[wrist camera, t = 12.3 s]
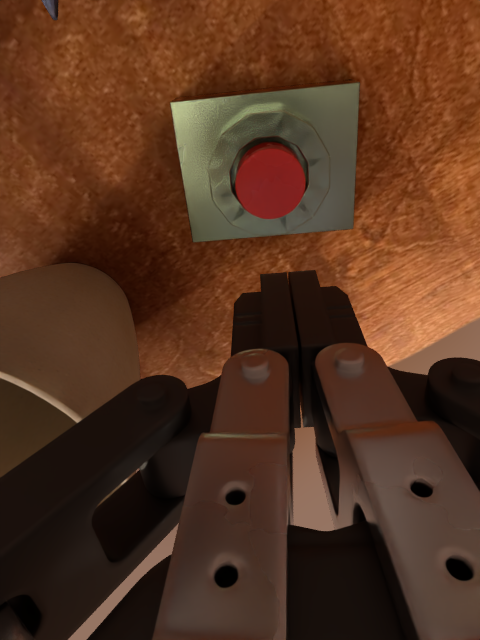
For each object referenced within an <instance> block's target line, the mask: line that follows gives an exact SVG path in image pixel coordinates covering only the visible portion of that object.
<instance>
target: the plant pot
mask: <svg viewBox="0 0 480 640" xmlns="http://www.w3.org/2000/svg"><path fill="white" fill-rule="evenodd" d="M139 380H140V365H139V353H138V345H137V338H136V332H135V326H134V322H133V317H132V313H131V309H130V306H129V303H128V300H127V297H126V295H125V294H124V292H123V290H122V289H121V288H120V286H119V285H118V284H117V283H116V282H115V281H114V280H113V279H112V278H111V277H110V276H108V275H107V274H105V273H104V272H102V271H100V270H98V269H96V268H94V267H91V266H88V265H84V264H79V263H62V264H55V265H49V266H44V267H38V268H34V269H30V270H26V271H21V272H18V273H14V274H11V275H8V276H4V277H1V278H0V477H2V476H3V475H5V474H6V473H7V472H9V471H10V470H12V469H13V468H14V467H16V466H17V465H19V464H20V463H22V462H23V461H24V460H26V459H27V458H29V457H30V456H31V455H33V454H34V453H36V452H37V451H38V450H40V449H41V448H43V447H44V446H46V445H47V444H48V443H50V442H51V441H53V440H54V439H55V438H57V437H58V436H60V435H61V434H62V433H64V432H65V431H67V430H68V429H70V428H71V427H72V426H74V425H75V424H77V423H78V422H79V421H81V420H82V419H84V418H85V417H87V416H88V415H89V414H91V413H92V412H94V411H95V410H96V409H98V408H99V407H101V406H102V405H103V404H105V403H106V402H108V401H109V400H111V399H112V398H113V397H115V396H116V395H118V394H119V393H120V392H122V391H123V390H125V389H126V388H127V387H129V386H130V385H132V384H133V383H135V382H137V381H139ZM135 473H136V471H135V472H134V473H132V474H131V475H130V476H129V477H128V478H127V479H126V480H124V481H123V482H122V483H121V484H120V485H119V486H118V487H116V488H115V489H114V490H113V491H112V492H111V493H110V494H108V495H107V496H106V497H105V498H104V499H103V500H102V501H101V502H100V503H99V504H98V506H99V505H100V504H101V503H102V502H103V501H105V500H106V499H107V498H108V497H109V496H110V495H111V494H113V493H114V492H115V491H116V490H117V489H118V488H119V487H121V486H122V485H123V484H124V483H125V482H126V481H127V480H129V479H130V478H131V477H132V476H133V475H134V474H135ZM98 506H97V507H98ZM97 507H96V508H97Z"/></svg>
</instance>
